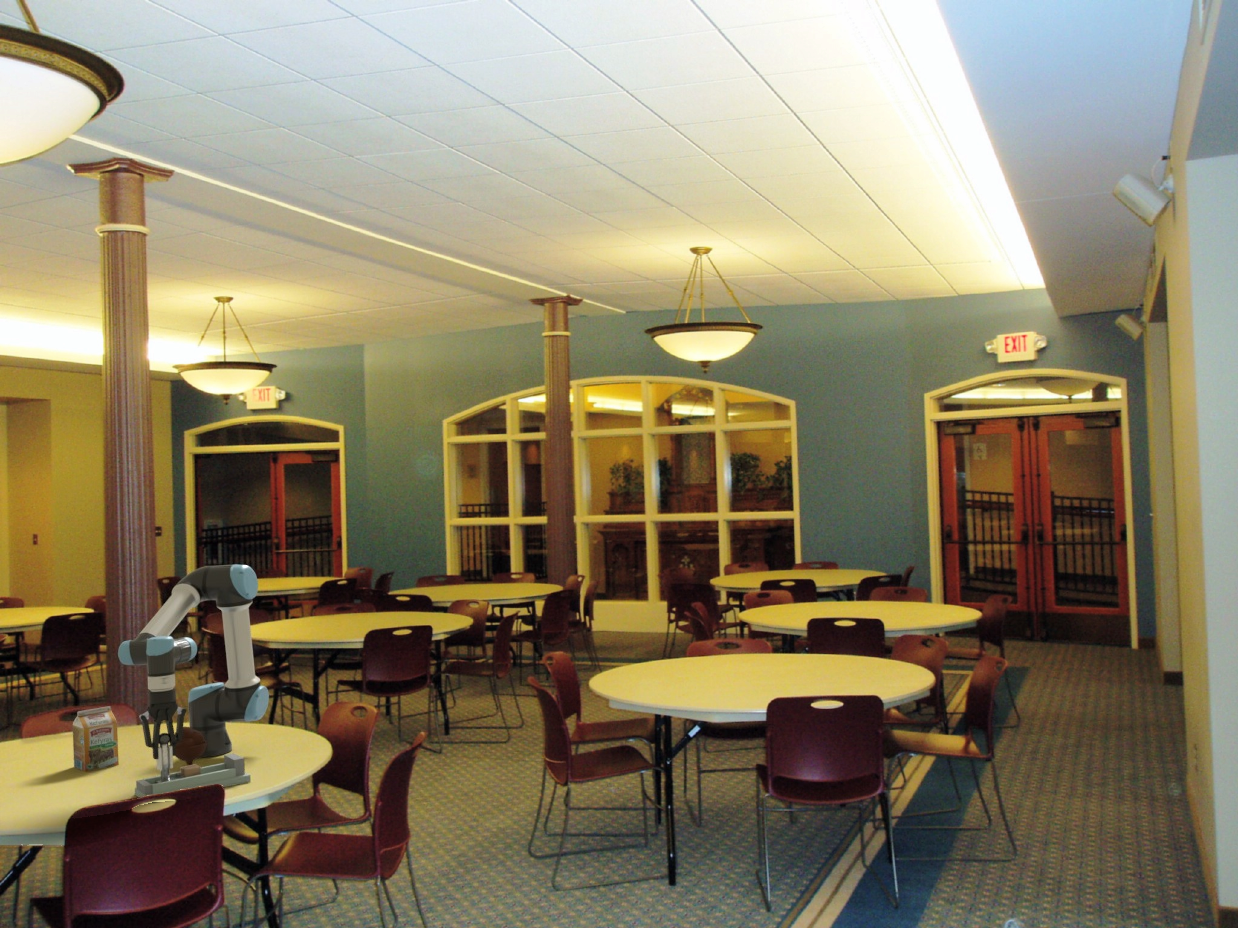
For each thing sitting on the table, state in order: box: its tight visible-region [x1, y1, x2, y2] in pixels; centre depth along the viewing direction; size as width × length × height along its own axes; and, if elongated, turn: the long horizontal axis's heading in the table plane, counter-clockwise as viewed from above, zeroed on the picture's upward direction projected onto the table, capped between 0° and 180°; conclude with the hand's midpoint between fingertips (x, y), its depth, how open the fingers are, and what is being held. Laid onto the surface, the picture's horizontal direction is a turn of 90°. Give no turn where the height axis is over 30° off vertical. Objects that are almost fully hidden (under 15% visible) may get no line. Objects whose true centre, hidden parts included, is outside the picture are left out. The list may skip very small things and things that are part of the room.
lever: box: [155, 732, 186, 784], centre depth 322 cm, size 7×7×16 cm
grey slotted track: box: [134, 753, 251, 798], centre depth 326 cm, size 13×30×7 cm, turn 129°
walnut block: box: [179, 763, 201, 777], centre depth 326 cm, size 4×4×4 cm
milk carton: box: [72, 705, 120, 773], centre depth 361 cm, size 11×10×19 cm
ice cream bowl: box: [174, 726, 207, 766], centre depth 344 cm, size 11×11×15 cm
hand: (164, 768), depth 321 cm, fingers closed on lever, 2 cm apart
